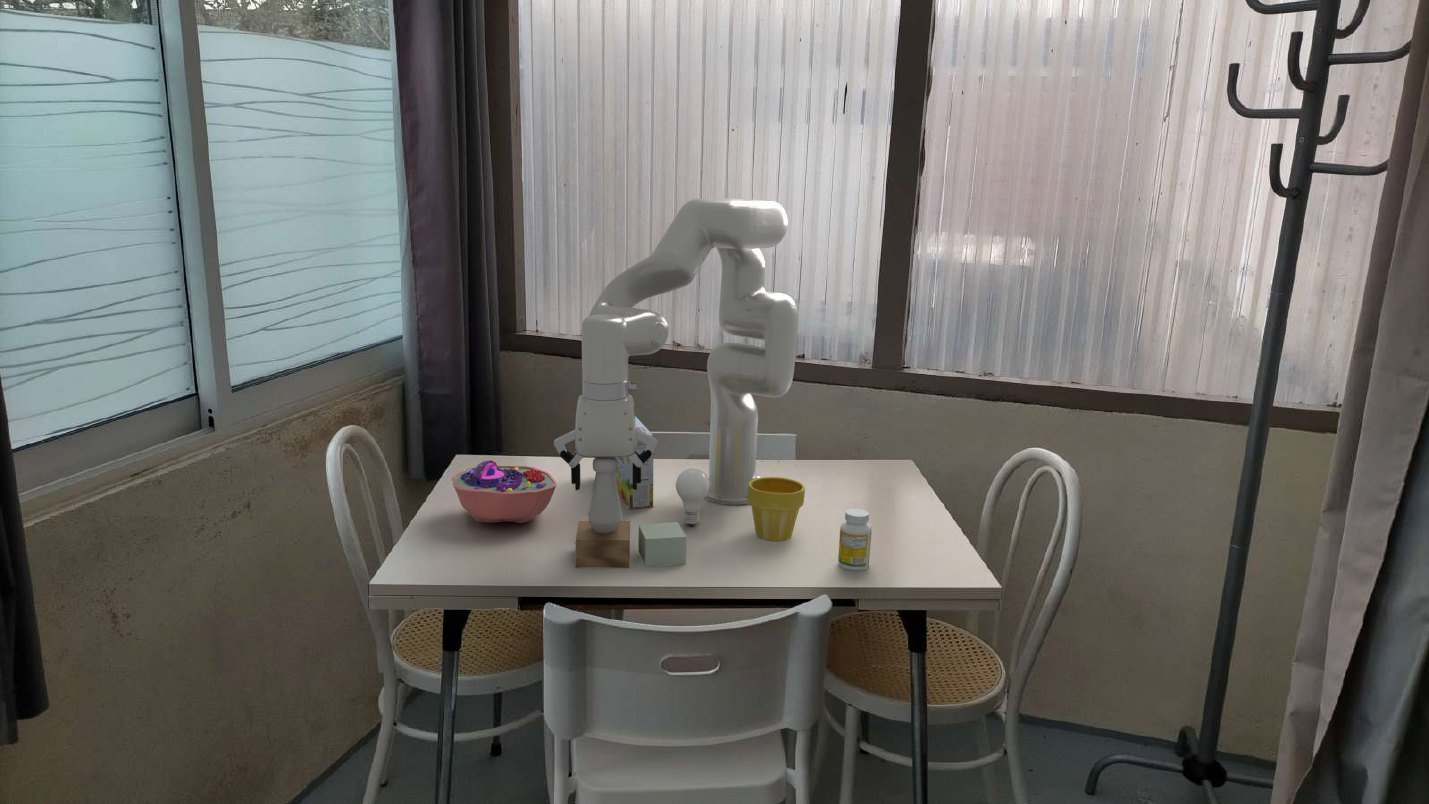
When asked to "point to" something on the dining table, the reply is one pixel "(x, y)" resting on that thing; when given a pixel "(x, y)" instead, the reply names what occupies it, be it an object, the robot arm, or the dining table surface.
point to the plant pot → (775, 506)
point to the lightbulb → (692, 492)
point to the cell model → (504, 492)
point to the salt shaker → (605, 497)
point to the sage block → (662, 544)
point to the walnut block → (602, 547)
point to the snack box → (625, 477)
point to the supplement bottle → (855, 540)
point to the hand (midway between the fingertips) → (606, 487)
